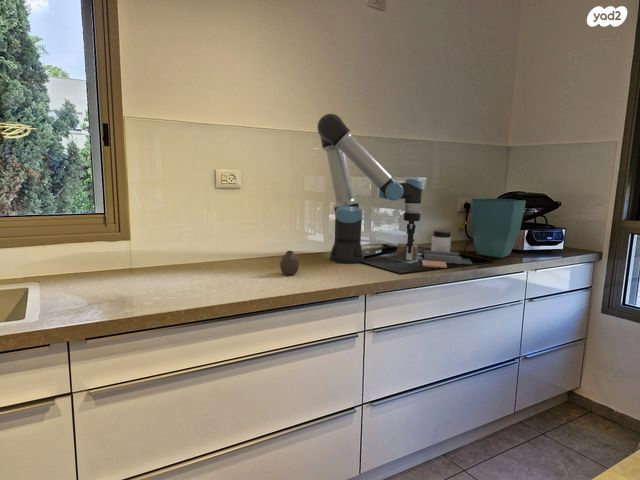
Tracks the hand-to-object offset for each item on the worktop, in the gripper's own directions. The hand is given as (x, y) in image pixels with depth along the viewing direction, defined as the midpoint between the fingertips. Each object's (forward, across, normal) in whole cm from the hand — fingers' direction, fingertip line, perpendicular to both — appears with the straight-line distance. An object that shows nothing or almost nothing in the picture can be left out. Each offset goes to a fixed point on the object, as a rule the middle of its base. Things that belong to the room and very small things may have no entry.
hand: (409, 257), depth 196 cm
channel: (0, 0, -15) cm, 15 cm away
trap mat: (0, 0, -26) cm, 26 cm away
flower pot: (+1, +25, -42) cm, 49 cm away
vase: (0, -52, +43) cm, 68 cm away
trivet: (0, -12, -11) cm, 17 cm away
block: (0, 0, +1) cm, 1 cm away
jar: (0, +13, -15) cm, 20 cm away
